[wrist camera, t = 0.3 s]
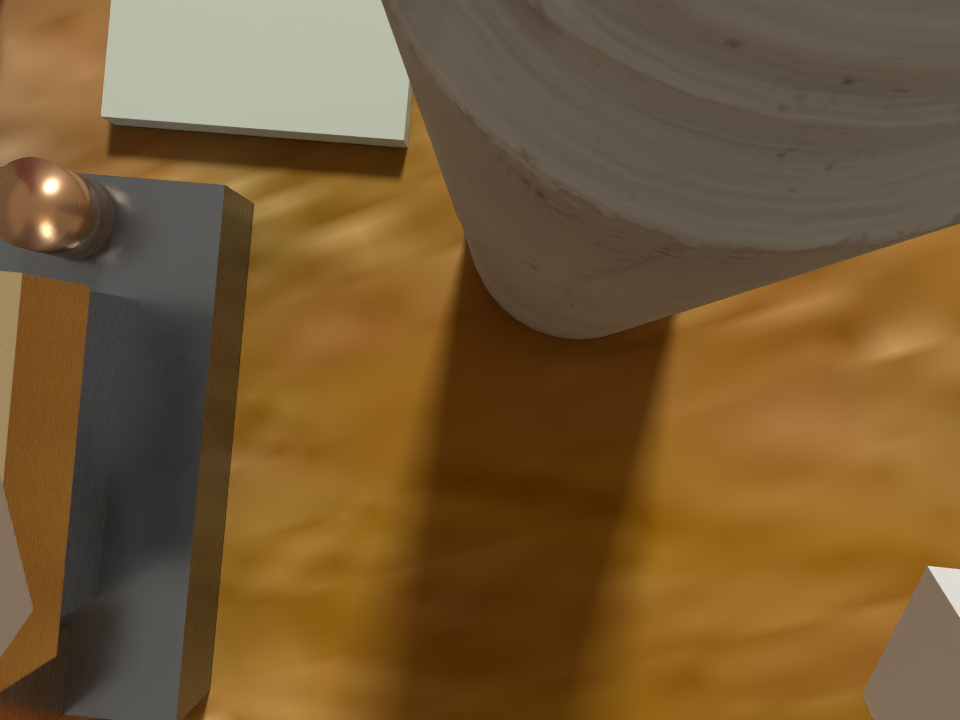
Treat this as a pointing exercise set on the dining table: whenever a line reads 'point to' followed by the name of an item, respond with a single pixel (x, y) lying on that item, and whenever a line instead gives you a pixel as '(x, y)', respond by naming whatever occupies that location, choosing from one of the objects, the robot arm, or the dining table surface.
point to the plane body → (137, 430)
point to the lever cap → (39, 445)
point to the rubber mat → (258, 69)
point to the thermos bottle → (681, 143)
